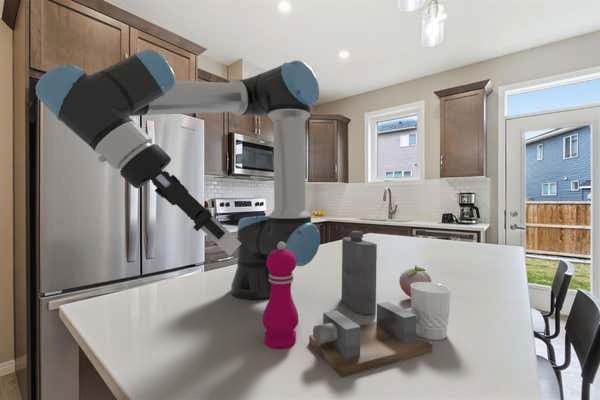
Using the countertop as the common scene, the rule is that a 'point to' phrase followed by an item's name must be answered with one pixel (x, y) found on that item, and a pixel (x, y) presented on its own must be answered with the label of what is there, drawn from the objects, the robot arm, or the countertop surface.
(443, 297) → the white cup
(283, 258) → the pepper mill
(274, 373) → the countertop surface
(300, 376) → the countertop surface
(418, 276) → the decorative fruit
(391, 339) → the block
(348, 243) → the flask
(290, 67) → the robot arm
